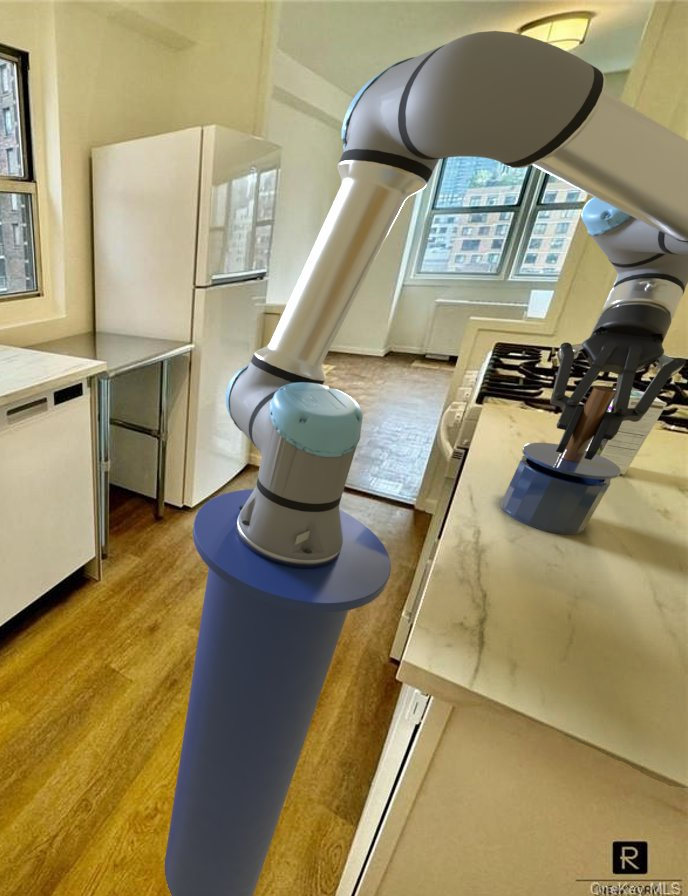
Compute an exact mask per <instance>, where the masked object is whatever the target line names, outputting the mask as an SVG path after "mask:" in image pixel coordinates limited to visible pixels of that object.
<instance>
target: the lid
mask: <svg viewBox="0 0 688 896" xmlns="http://www.w3.org/2000/svg"><path fill="white" fill-rule="evenodd" d="M614 389H615V388H610V387H604V386H593V388H592V390H591V392H590V393H589V396H588V398H587V399H586V402H585V404H584V406H583V407H584V409H583V411H582V413H581V415H580V418H579V420H578V422H577V424H576V427H575V429H574V431H573V433H572V436H571V438H570V440H569V442H568V445H567V446H566V448H565V450H564V451H563V453H560V452H556V450H557V447H558V445H559V443H553V442H552V443H551V442H531V443H526V444H525V445H523V447H522V449H521V452H522V454H523V456H526V457H527V458H528V459H530V460H531V461H533V462H535V463H537V464H539V465H541V466H544V467H546V468H549V469H552V470H555V471H558V472H561V473H565V474H569V475H573V476H578V477H583V478H590V479H611V480H613V479H615V478H618V477H619V476H620V475H621V474H620V473H621V469H620V468H619V467H618V466H617V465H616V464H615V463H613V462H612V461H610V460H608V459H606V458H604V457H602V456H599V455H597V454H595V456H594V457H593V458H592V460H589V459H585V458H584V457H585V455H586V453H587V451H586V450H587V448H588V446H589V444H590V442H591V440H592V439H593V437H594V435H595V433H596V431H597V429H598V427H599V425H600V423H601V421H602V419H603V417H604V416H605V414H606V412H607V410H608V408H609V406H610V404H611V402H612V400H613V399H614V397H615V395H616V393H617V391H616V390H614Z"/></svg>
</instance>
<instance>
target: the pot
mask: <svg viewBox="0 0 688 896" xmlns="http://www.w3.org/2000/svg"><path fill="white" fill-rule="evenodd" d="M611 480H612V479H590V478H583V477H578V476H573V475H569V474H565V473H561V472H558V471H555V470H552V469H549V468H546V467H544V466H541V465H539V464H537V463H535V462H533V461H531V460H530V459H528V458H527V457H526V456H525V455H522V457H521V459H520V461H519V463H518V465H517V467H516V469H515V472H514V474H513V475H512V478H511V480H510V482H509V484H508V487H507V489H506V491H505V493H504V495H503V498H502V500H501V502H500V507H501V509H502V510H503V511H504V513H506V514H507V515H508V516H510V517H511V518H513V519H515V521H518V522H520V523H521V524H524V525H527V526H529V527H532V528H535V529H536V530H537V529H538V530H541V531H545V532H549V533H552V534H559V535H576V534H580V533H583V532H584V530H585V529H586V527H587V526H588V524H589V522H590V521H591V518H592V517H593V515H594V513H595V512H596V510H597V508H598V506H599V504H600V502H601V501H602V499H603V498H604V496H605V494H606V492H607V490H608V489H609V487H610V485H611Z"/></svg>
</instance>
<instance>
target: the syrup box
mask: <svg viewBox="0 0 688 896" xmlns="http://www.w3.org/2000/svg"><path fill="white" fill-rule="evenodd" d="M613 389H614V390H616V388H613ZM644 392H645V391H641V390H635V389H632V391H631V395H630V400H629V405H628V408H635V406H636V405H637V403H638V402H639V400H640V398H641V397H642V395H643V394H644ZM612 403H613V400H612V402H611V404H610V406H609V408H608V410H607V412H611V408H612ZM667 405H668V403H667V402H665V401H663V400H661V399H660V398H658V396H657V397H656V398H655V400H654V401H653V403H652V405H651V406H650V408H649V409H648V411H647V412H646V413H645V415H644V416H643V417H642V418H641V419H640V420H639V421H637V422H632V421H630V420H626V421H622V423H621V425H620V428H619V430H618V432H617V434H616V435H615V437H614V438H613V439H612V440H607V439H603V440H602V442H601V444H600V447H599V449H598V451H597V453H596V454H597V455H599V456H602V457H604V458H606V459H608V460H610V461H612V462H613V463H615V464H616V465H617V466H618V467H619V468H620V469H621V473H620V475H626V472H627V471H628V469H629V468H630V466H631V464H632V463H633V461H635V458H636V456H637V455H638V453H639V451H640V449H641V448H642V446H643V444H644V443H645V441H646V439H647V438H648V437H649V435H650V434H651V432H652V430H653V428H654V426H655V425H656V423H657V421H658V420H659V418H660V416H661V414H662V413H663V411H664V409H665V408H666V406H667ZM591 441H592V440H591ZM590 444H591V442H590ZM590 444H589V446H590ZM589 446H588V448H589ZM588 448H587V450H586V451H588Z"/></svg>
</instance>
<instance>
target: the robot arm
mask: <svg viewBox="0 0 688 896" xmlns="http://www.w3.org/2000/svg"><path fill="white" fill-rule="evenodd" d="M605 76H606V75H605V74H604V73H603V70H601V69H599V68H598V67H595V66H594V65H592V64H590V63H589V62H588V61H585V60H584V59H583V58H580V57H579V56H577V55H575V54H573V53H571V52H569V51H567V50H565V49H563V48H561V47H559V46H556V45H553V44H552V43H548V42H546V41H543V40H542V39H541V40H540V39H538V38H535V37H532V36H529V35H526V34H525V35H524V34H520V33H515V32H512V31H511V32H510V31H502V30H501V31H500V30H489V31H477V32H474V33H469V34H466V35H463V36H461V37H458V38H456V39H453V40H451V41H449V42H448V43H446V44H443V45H441V46H439V47H436V48H433V49H431V50H428V51H426V52H424V53H422V54H419V55H418V56H413V57H409V58H406V59H403V60H400V61H397V62H395V63H393V64H391V65H390V66H388V67H387V68H385V69H384V70H382V71H381V72H380V73H378V74H376V75H375V76H374V77H371V79H370V80H369V81H367V82H366V83H365V84H364V85H363V86H362V87H361V88H360V90H359V91H358V92H357V93H356V94H355V96H354V97H353V99H352V100H351V102H350V104H349V106H348V108H347V110H346V111H345V112H346V113H345V114H344V115H345V116H344V118H343V121H342V127H341V140H342V143H343V144H342V145H343V146H342V149H343V151H342V155H341V157H340V159H339V161H338V163H337V166H336V169H337V172H338V174H339V178H340V179H341V180H340V181H341V184H340V187H339V188H338V190H337V193H336V195H335V198H334V200H333V201H332V204H331V207H330V209H329V211H328V213H327V215H326V218H325V220H324V221H323V224H322V226H321V228H320V231H319V233H318V235H317V238H316V239H315V242H314V244H313V245H312V248H311V251H310V253H309V254H308V257H307V259H306V262H305V264H304V265H303V268H302V270H301V272H300V275H299V277H298V279H297V281H296V284H295V286H294V288H293V290H292V292H291V295H290V297H289V298H288V301H287V303H286V306H285V307H284V310H283V312H282V315H281V316H280V319H279V321H278V323H277V326H276V328H275V330H274V332H273V334H272V336H271V338H270V341H269V343H268V344H267V345H266V346H264V347H261V348H260V349H257V350H255V351H254V352H253V355H252V358H251V360H250V362H249V364H247V365H245V366H244V367H243V368H240V369H239V370H238V371H236V372H235V374H234V375H233V376H232V378H231V379H230V380H229V383H228V385H227V389H226V392H225V406H226V409H227V412H228V414H229V416H230V419H231V420H232V421H233V424H234V426H236V428H237V429H238V430H239V431H240V432H242V433H243V434H244V435H245V436H246V438H247V439H248V440H249V441H250V442H251V443H252V445H253V446H254V448H256V449H257V450H258V452H259V453H260V455H261V456H260V457H261V458H260V462H259V463H260V464H259V468H258V474H257V479H256V484H255V487H254V490H253V492H252V494H251V495H250V497H249V498H248V500H247V502H246V503H245V505H240V507H239V509H240V510H241V511H240V514H239V516H238V520H237V526H236V531H237V535H238V537H239V539H240V540H241V542H242V543H243V544H244V545H245V546H246V547H247V548H248V549H249V550H250V551H252V552H253V553H255V554H256V555H258V556H260V557H261V558H263V559H265V560H268V561H270V562H273V563H275V564H278V565H282V566H286V567H291V568H298V569H315V568H321V567H325V566H327V565H330V564H331V563H333V562H334V561H335V560H337V558H338V557H339V555H340V552H341V548H342V545H343V533H342V525H341V517H340V510H341V509H340V504H341V500H342V497H343V494H344V490H345V486H346V484H347V479H348V476H349V473H350V471H351V467H352V464H353V460H354V457H355V454H356V449H357V447H358V444H359V443H360V440H361V437H362V435H361V434H362V433H361V432H362V426H363V420H364V419H363V418H364V416H363V411H362V408H361V406H360V405H359V403H358V402H357V401H356V400H355V399H354V398H353V397H352V396H350V395H348V394H347V393H345V392H343V391H341V390H339V389H337V388H330V387H329V386H328V385H325V384H324V383H325V381H326V379H327V376H326V373H325V369H324V368H323V362H324V361H325V359H326V357H327V355H328V353H329V351H330V349H331V347H332V345H333V343H334V341H335V339H336V337H337V335H338V334H339V331H340V329H341V327H342V325H343V323H344V322H345V319H346V318H347V315H348V313H349V311H350V310H351V308H352V306H353V303H354V302H355V300H356V298H357V296H358V295H359V292H360V291H361V288H362V286H363V284H364V282H365V280H366V278H367V276H368V275H369V272H370V270H371V269H372V266H373V264H374V262H375V261H376V258H377V257H378V255H379V253H380V251H381V248H382V247H383V245H384V243H385V241H386V239H387V237H388V235H389V233H390V231H391V229H392V227H393V225H394V223H395V221H396V219H397V217H398V215H399V214H400V211H401V209H402V207H403V206H404V204H405V201H406V200H407V199H408V198H409V197H411V196H413V195H415V194H417V193H419V192H421V191H422V190H424V189H425V188H426V187H427V185H428V183H429V181H430V179H431V177H432V176H433V174H434V172H435V171H436V168H437V166H438V164H439V162H440V160H444V159H449V158H458V157H459V158H460V157H463V158H481V159H483V158H484V159H489V160H492V161H496V162H499V163H500V164H503V165H505V166H506V167H508V168H511V169H523V168H528V167H531V166H533V167H535V168H536V169H539V170H540V171H542V172H544V173H546V174H549V176H552V177H554V178H556V179H558V180H560V181H562V182H564V183H566V184H567V185H570V186H572V187H574V188H576V189H577V190H579V191H582V192H583V193H586V194H587V195H589V196H591V197H592V198H590V199H589V200H588V201H587V202H586V204H585V205H584V207H583V208H582V211H581V220H582V222H583V223H584V225H585V227H586V229H587V234H588V235H589V236H591V238H592V239H593V240H594V242H595V243H596V244H597V246H598V247H599V248H600V250H601V251H602V252H603V253H604V255H605V256H606V258H607V259H608V261H609V262H610V264H611V266H612V267H613V268H614V269H615V271H616V275H617V276H616V278H615V281H614V283H613V286H612V288H611V290H610V292H609V294H608V296H607V298H606V300H605V303H604V305H603V307H602V309H601V312H600V315H599V316H598V318H597V320H596V323H595V324H594V326H593V329H592V331H591V333H590V335H589V337H588V338H586V339H585V340H583V341H582V343H575V344H571V343H570V342H563V343H561V344H560V346H559V348H558V351H557V353H556V357H557V359H558V362H559V366H558V369H557V373H556V378H555V381H554V385H553V388H552V393H551V397H550V401H549V404H550V405H551V406H554V407H559V408H560V409H561V410H562V411H561V414H560V416H559V418H558V421H557V422H556V429H559V430H563V434H562V436H561V438H560V441H559V443H558V444H559V445H558V447H557V450H556V452H560V453H563V451H564V450H565V448H566V446H567V445H568V442H569V440H570V438H571V436H572V433H573V431H574V429H575V427H576V424H577V422H578V420H579V418H580V415H581V413H582V411H583V409H584V406H581V405H580V403H581V402H582V400H583V398H584V397H585V396H586V395H587V392H588V391H589V390H590V389H591V387H592V385H593V383H594V382H595V380H596V379H597V378H598V377H599V375H600V373H612V374H615V375H617V378H616V386H615V389H616V391H617V393H616V395H615V397H614V399H613V403H612V408H611V412H606V414H605V416H604V417H603V419H602V421H601V423H600V425H599V427H598V429H597V431H596V433H595V435H594V437H593V439H592V441H591V444H590V446H589V448H588V451H587V453H586V455H585V457H584V458H585V459H589V460H592V458H593V457H594V456H595V454H596V453H597V451H598V449H599V447H600V444H601V442H602V440H603V439H607V440H612V439H613V438H614V437H615V435H616V434H617V432H618V430H619V428H620V425H621V423H622V421H626V420H630V421H632V422H637V421H639V420H640V419H641V418H642V417H643V416H644V415H645V413H646V412H647V411H648V409H649V408H650V406H651V405H652V403H653V401H654V400H655V398H656V397H657V398H658V395H659V394H660V392H661V391H662V390H663V388H664V387H665V385H666V383H667V382H668V380H669V379H671V378H673V377H675V375H677V374H678V373H679V372H680V371H681V370H682V369H683V367H684V366H685V365H686V363H687V360H686V359H685V358H682V357H677V358H672V357H670V356H668V355H665V349H664V347H663V343H664V341H665V338H666V336H667V333H668V331H669V329H670V328H671V327H670V326H671V324H672V320H673V319H674V317H675V314H676V312H677V309H678V307H679V305H680V302H681V300H682V297H683V295H684V293H685V290H686V288H687V285H688V139H687V138H685V137H684V136H682V135H680V134H678V133H677V132H675V131H673V130H671V129H669V128H668V127H667V126H665V125H663V124H661V123H659V122H658V121H656V120H655V119H653V118H652V117H649V116H647V115H646V114H644V113H642V112H641V111H639V110H638V109H636V108H634V107H632V106H631V105H629V104H627V103H626V102H624V101H623V100H620V98H618V97H616V96H613V95H612V94H611V93H609V92H608V91H606V85H607V83H606V81H607V79H606V77H605ZM580 353H582V355H583V356H584V358H585V360H586V362H587V363H588V364H589V366H590V367H589V368H588V370H587V371H586V373H585V374H584V376H583V377H582V378H581V380H580V382H579V383H578V385H577V386H576V387H575V389H574V391H573V392H572V394H571V395H570V396H568V395H566V391H567V389H568V383H569V380H570V377H571V371H572V367H573V364H574V360H575V359H577V358H578V356H579V355H580ZM654 363H655V365H656V366H655V368H654V371H655V373H656V375H655V376H654V378H653V379H652V380H651V382H650V383H649V385H648V386H647V387H646V390H645V391H643V392H644V394H643V395H642V397H641V398H640V400H639V402H638V403H637V405H636V406H635V408H628V405H629V400H630V395H631V391H632V390H633V385H634V381H635V377H636V374H637V372H638V371H640V370H642V369H644V368H646V367H648V366H650V365H652V364H654ZM579 405H580V406H579Z"/></svg>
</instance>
